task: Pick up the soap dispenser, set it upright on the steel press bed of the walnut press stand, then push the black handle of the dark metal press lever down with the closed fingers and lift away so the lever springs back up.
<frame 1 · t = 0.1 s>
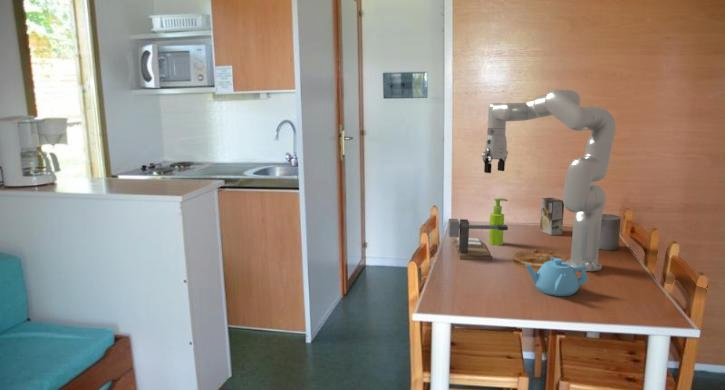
hand: (494, 171, 234), 31 cm above the table, tool pointing down, fingers open, 9 cm apart
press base: (470, 250, 224), on the table
coffee box: (550, 233, 254), on the table
teapot: (555, 290, 180), on the table
pillar candle: (605, 248, 230), on the table
soap dispenser: (496, 243, 235), on the table
press lever: (477, 228, 215), point 12 cm above the table, hinge at 0.0°
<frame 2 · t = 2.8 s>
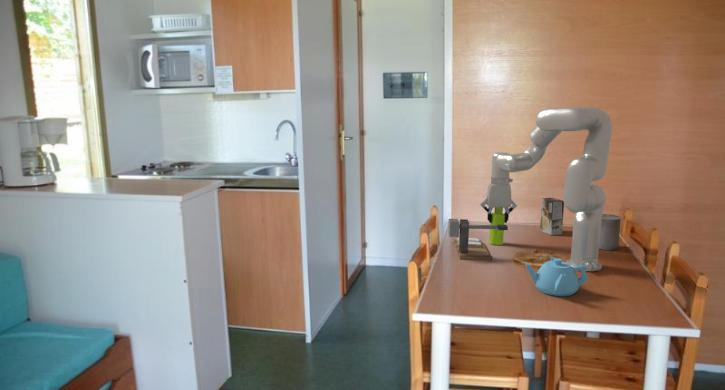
hand: (497, 221, 234), 10 cm above the table, tool pointing down, fingers closed on soap dispenser, 6 cm apart
soap dispenser: (496, 243, 235), on the table, touching gripper
everything else where it was.
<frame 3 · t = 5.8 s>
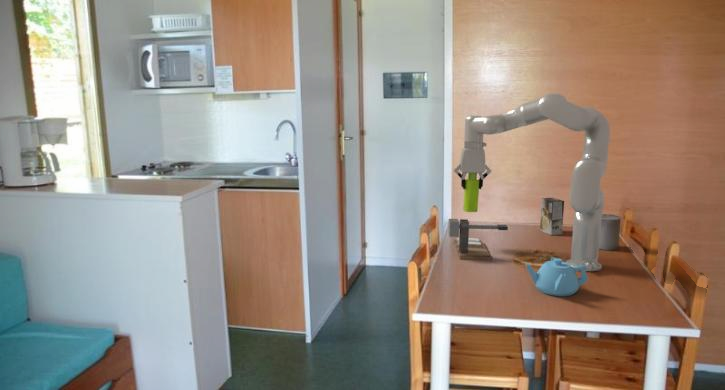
hand: (471, 188, 225), 25 cm above the table, tool pointing down, fingers closed on soap dispenser, 6 cm apart
soap dispenser: (471, 211, 227), point 16 cm above the table, touching gripper
everything else where it was.
when the fingers open (13 cm above the table, at t = 8.5 s): soap dispenser drops 1 cm, resting on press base.
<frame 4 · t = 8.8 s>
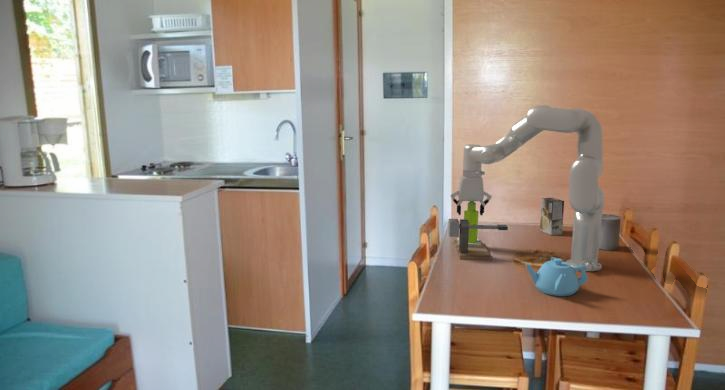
hand: (470, 214, 228), 14 cm above the table, tool pointing down, fingers open, 8 cm apart
soap dispenser: (471, 241, 229), point 2 cm above the table, touching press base
everything else where it was.
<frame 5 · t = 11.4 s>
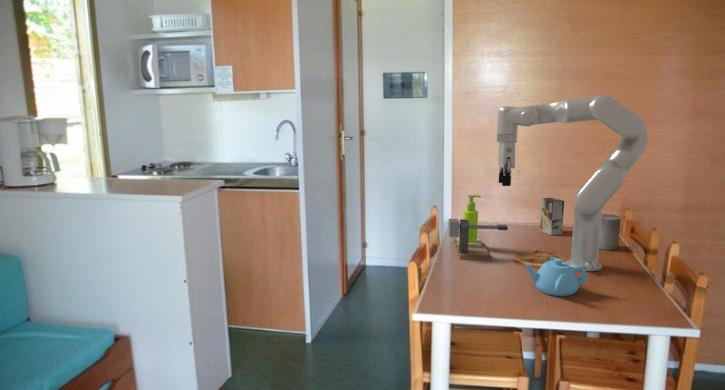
hand: (504, 183, 211), 30 cm above the table, tool pointing down, fingers open, 6 cm apart
nothing on the table moved.
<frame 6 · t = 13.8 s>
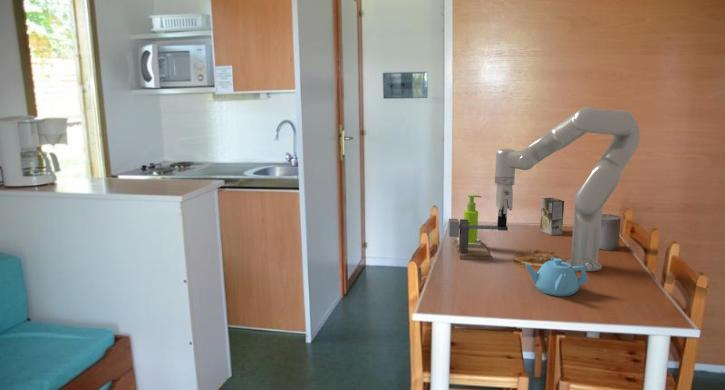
hand: (501, 225, 215), 13 cm above the table, tool pointing down, fingers closed
press lever: (477, 228, 215), point 11 cm above the table, hinge at 0.5°, touching gripper
everything else where it was.
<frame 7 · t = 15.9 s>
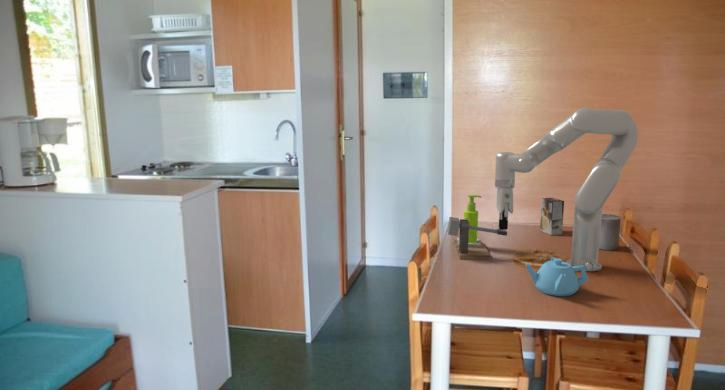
hand: (503, 229, 215), 11 cm above the table, tool pointing down, fingers closed
press lever: (477, 229, 215), point 11 cm above the table, hinge at 7.7°
everything else where it was.
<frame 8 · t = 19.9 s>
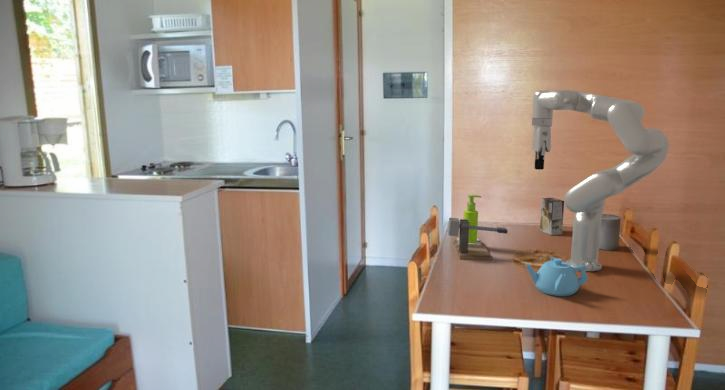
hand: (538, 169, 213), 35 cm above the table, tool pointing down, fingers closed
press lever: (477, 229, 215), point 11 cm above the table, hinge at 4.6°
everything else where it was.
at the end: soap dispenser 0.8 cm from the target spot on the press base, point 2.3 cm above the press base's base; soap dispenser tilted 0°; press lever at +5° (first picture: +0°) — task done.
